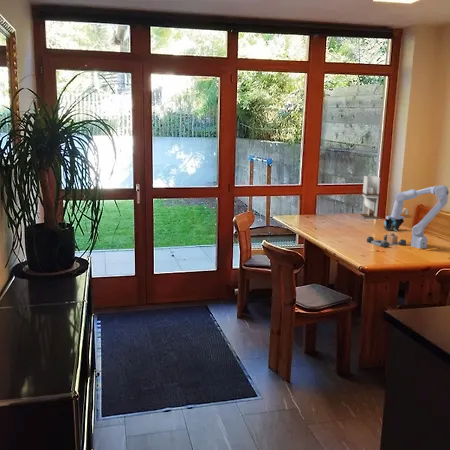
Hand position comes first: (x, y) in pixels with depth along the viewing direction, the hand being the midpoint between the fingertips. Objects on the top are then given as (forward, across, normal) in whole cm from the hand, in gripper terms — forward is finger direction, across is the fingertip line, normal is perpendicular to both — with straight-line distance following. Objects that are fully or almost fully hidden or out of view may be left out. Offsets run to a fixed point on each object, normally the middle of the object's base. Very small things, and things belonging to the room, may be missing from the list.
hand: (392, 229), depth 326 cm
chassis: (+10, +5, +2) cm, 11 cm away
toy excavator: (+11, -34, -30) cm, 47 cm away
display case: (+16, -49, -75) cm, 91 cm away
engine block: (+9, 0, +2) cm, 9 cm away
